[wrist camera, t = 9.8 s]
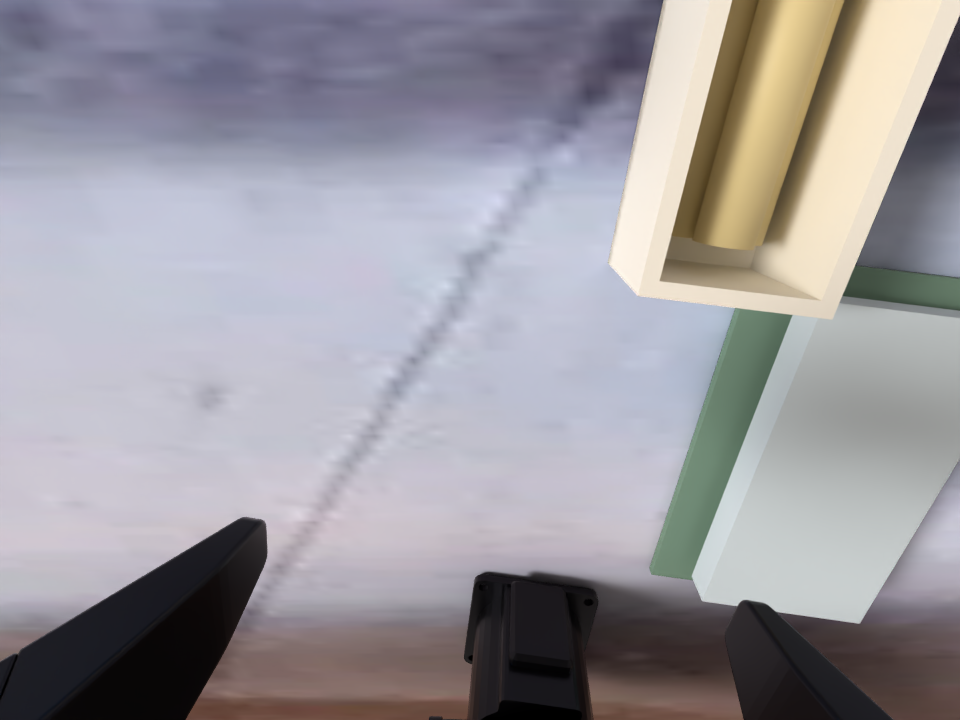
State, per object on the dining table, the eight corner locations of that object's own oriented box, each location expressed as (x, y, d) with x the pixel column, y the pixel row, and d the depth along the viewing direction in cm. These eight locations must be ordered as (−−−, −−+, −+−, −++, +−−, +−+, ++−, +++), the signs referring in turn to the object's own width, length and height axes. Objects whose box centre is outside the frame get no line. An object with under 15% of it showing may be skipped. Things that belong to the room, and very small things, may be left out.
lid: (829, 583, 23) (859, 623, 21) (686, 563, 23) (701, 601, 21) (979, 309, 18) (1038, 328, 16) (790, 285, 18) (825, 301, 16)
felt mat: (848, 595, 24) (853, 602, 23) (649, 568, 24) (651, 574, 24) (1024, 285, 18) (1035, 288, 17) (753, 253, 18) (758, 255, 17)
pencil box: (752, 280, 18) (832, 319, 14) (607, 262, 18) (637, 296, 14) (924, -228, 13) (1154, -450, 8) (716, -247, 13) (825, -475, 8)
